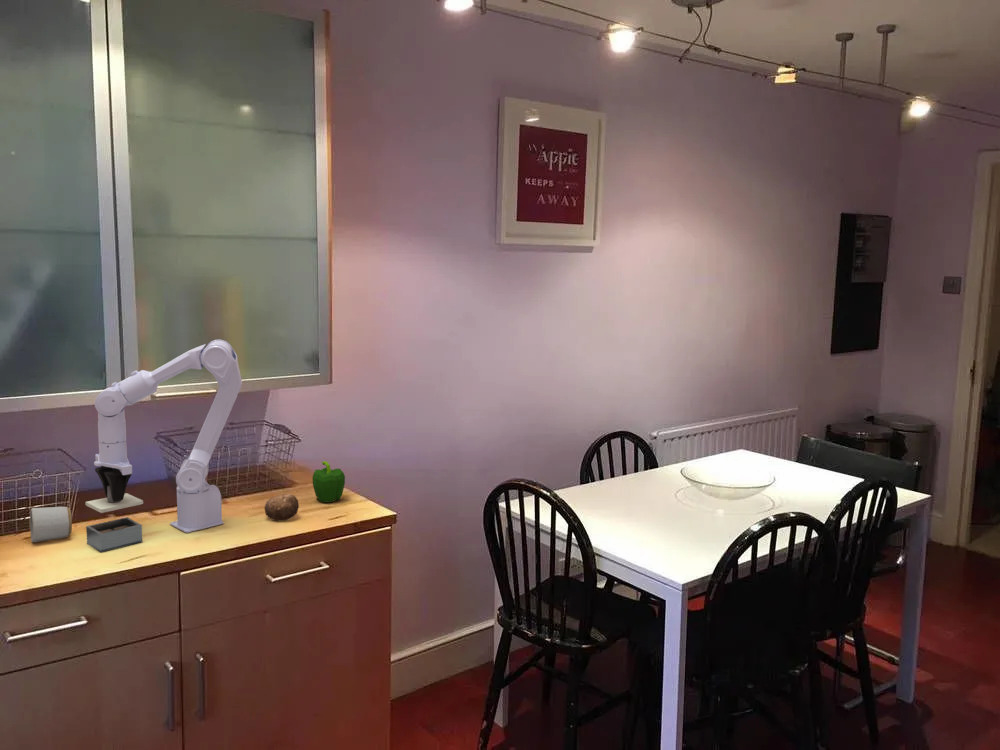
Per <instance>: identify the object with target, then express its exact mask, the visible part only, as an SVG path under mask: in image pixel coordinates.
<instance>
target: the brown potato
mask: <svg viewBox="0 0 1000 750" xmlns="http://www.w3.org/2000/svg"><path fill="white" fill-rule="evenodd" d="M299 504H300V503H299V501H298V499H297V497H296V495H294V494H292V493H280V494H277V495H275V496H274V495H273V496H272V497H270V498H269V499H268V500H266V502H265V505H264V511H265V515H266V517H268V518H269V519H270V520H273V521H275V522H285V521H288V520H290V519H293V518H294V516H296V514H297V513H298V511H299V508H300V506H299Z"/></svg>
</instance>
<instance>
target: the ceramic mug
mask: <svg viewBox="0 0 1000 750" xmlns="http://www.w3.org/2000/svg"><path fill="white" fill-rule="evenodd" d="M72 518H73V517H72V511H71V509H70V507H68V506H54V507H53V506H52V507H49V506H48V507H47V506H46V507H32V508H31V509H30V516H29V526H30V528H29V529H30V539H31V542H32V543H39V542H45V541H46V542H47V541H51V540H52V541H53V540H59V539H60V540H61V539H64V538H68V537H70V536H71V534H72V531H73V521H72V520H73V519H72Z"/></svg>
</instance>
